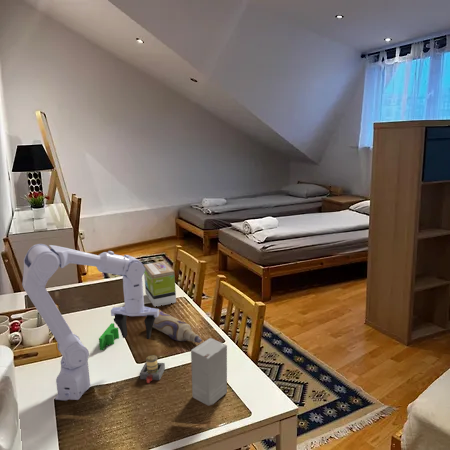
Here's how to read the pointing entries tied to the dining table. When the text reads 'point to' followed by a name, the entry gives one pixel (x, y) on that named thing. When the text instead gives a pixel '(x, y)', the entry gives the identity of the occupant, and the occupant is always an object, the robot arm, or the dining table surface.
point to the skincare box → (209, 371)
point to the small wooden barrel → (152, 364)
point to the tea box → (160, 283)
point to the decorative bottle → (175, 328)
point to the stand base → (152, 373)
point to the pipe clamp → (108, 336)
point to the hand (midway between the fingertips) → (136, 336)
